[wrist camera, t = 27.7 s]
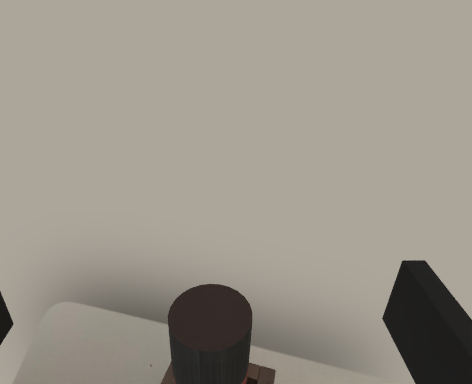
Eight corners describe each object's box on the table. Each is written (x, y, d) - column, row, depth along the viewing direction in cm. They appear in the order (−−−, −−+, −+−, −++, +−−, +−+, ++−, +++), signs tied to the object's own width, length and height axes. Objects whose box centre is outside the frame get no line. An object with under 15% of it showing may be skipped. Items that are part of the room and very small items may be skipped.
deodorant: (172, 407, 33) (161, 294, 26) (231, 387, 35) (236, 277, 28) (186, 477, 28) (176, 363, 21) (253, 451, 30) (266, 337, 23)
